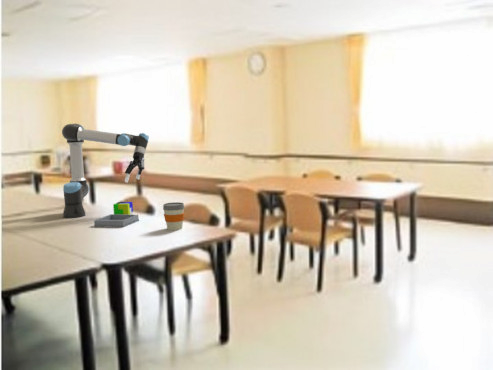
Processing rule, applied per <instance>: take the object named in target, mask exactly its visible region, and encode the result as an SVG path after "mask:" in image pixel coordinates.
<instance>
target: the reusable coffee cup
mask: <svg viewBox="0 0 493 370" xmlns="http://www.w3.org/2000/svg"><path fill="white" fill-rule="evenodd" d="M162 208H163V209H162V210H163V217H164V222H165V223H166V229H167V231H180V230H182V229H183V223H184V220H185V218H184V217H185V212H184V211H185V210H184V209H185V205H184V202H174V201H173V202H166V203H163V207H162ZM179 229H180V230H179Z"/></svg>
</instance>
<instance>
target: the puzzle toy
mask: <svg viewBox="0 0 493 370" xmlns="http://www.w3.org/2000/svg"><path fill="white" fill-rule="evenodd" d="M112 207H113V214H124V215H134V209H133V208H134V207H133V201H118V202H116V203H113V205H112Z"/></svg>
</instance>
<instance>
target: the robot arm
mask: <svg viewBox="0 0 493 370" xmlns="http://www.w3.org/2000/svg"><path fill="white" fill-rule="evenodd" d="M61 134H62V137H63V138H64V139H66V144H67V145H69V155H70V171H71V179H70V180H69V182H67V183H65V184H63V200H64V209H63V213H62V216H63V217H62V218H65V219H75V218H81V217H85V216H86V210H85V208H84V206H83V199H84V198H85V197H86V196H87V195H88V194H89V192H90V187H89V185H88V183H87V178H86V177H85V173H84V172H85V170H84V156H83V154H84V153H83V144H85V143H84V142H85V141H86V142H87V141H89V142H97V143H101V144H103V143H104V144H108V145H110V144H111V145H117V146H121V147H126V146H133V147H135V148H134V151H133V154H132V158H133V159H132V160H130V162H129V164H128V165H127V167H126V169H125V171H124V174H126V175H125V178H124V181H123V182H124V183H126V184H129V179H130V176H131V173H132V172H133V170H134V169H135V168H137V167H138V169H137V171H136V175H135V179H136V180H138V181H139V180H140V179H141V174H142V172H143V170H145V154H146V150H147V147H148V143H149V140H150V136H149V135H148V134H147V133H144V132H143V133H139V134H138V135H134V134H130V133H125V132H123V133H113V132H106V131H100V130H95V129H94V130H92V129H85V128H84V127H83V126H82V125H81V124H79V123H68V124H66V125H64V126H63V128H62V130H61Z"/></svg>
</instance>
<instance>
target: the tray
mask: <svg viewBox="0 0 493 370" xmlns="http://www.w3.org/2000/svg"><path fill="white" fill-rule="evenodd" d="M139 221H140V220H139V214H133V215H124V214H114V213H111V214H108V215H105V216H102V217H99V218H97V219H94V220H93V223H94V228H95V227H96V228H97V227H102V228H125V227H127V226H131V225H132V224H134V223H136V222H139Z"/></svg>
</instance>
